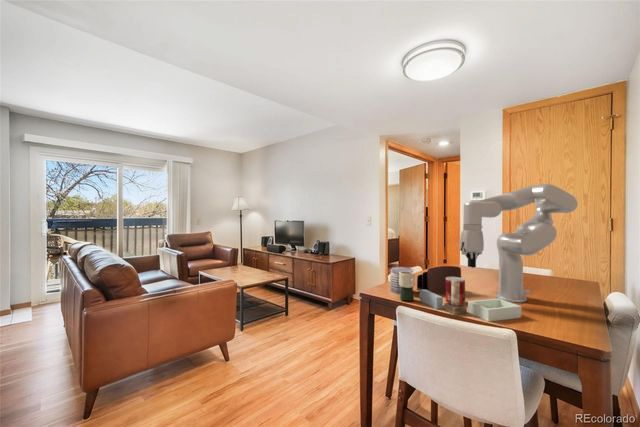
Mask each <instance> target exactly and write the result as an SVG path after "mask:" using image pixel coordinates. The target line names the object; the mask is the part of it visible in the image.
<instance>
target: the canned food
mask: <svg viewBox="0 0 640 427" xmlns="http://www.w3.org/2000/svg"><path fill="white" fill-rule="evenodd" d="M451 280H458V281H459V303H460V304H462V305H465V302H466V300H465V299H466V279H465V278H462V277H461V278H459V277H446V293H445V303H450V302H451Z"/></svg>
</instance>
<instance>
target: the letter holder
mask: <svg viewBox="0 0 640 427" xmlns="http://www.w3.org/2000/svg"><path fill="white" fill-rule="evenodd" d="M446 277H459V278H462V268H461V267H460V266H456V265H439V266H434V267H430V268H428V269H427V271H424V272H422V274H418V275H417V276H416V278H417V279H416V290H418V291H419V292H420V290H428V291H430V292H432V293H434V294H437V295H442V294H445V295H446Z"/></svg>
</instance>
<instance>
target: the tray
mask: <svg viewBox="0 0 640 427" xmlns="http://www.w3.org/2000/svg"><path fill="white" fill-rule="evenodd" d="M467 313H469V314H471V315H473V316H475V317H478V318H480V319H482V320H484V321H486V322H494V321H495V322H496V321H505V320H513V319H521V318H522V305H520V304H516V303H514V302H510V301H505V300H502V299H499V298H491V299H490V298H489V299H488V298H487V299H479V300H470V301H469V300H468V302H467Z"/></svg>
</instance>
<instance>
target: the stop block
mask: <svg viewBox="0 0 640 427" xmlns="http://www.w3.org/2000/svg"><path fill="white" fill-rule="evenodd" d="M443 298H444V297H443V296H441V295H440V294H434V293H432V292H430V291H428V290H420V291H419V301H420V302H421V303H423V304H426V305H427V306H429V307H432V308H433V309H435V310H444V299H443Z"/></svg>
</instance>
